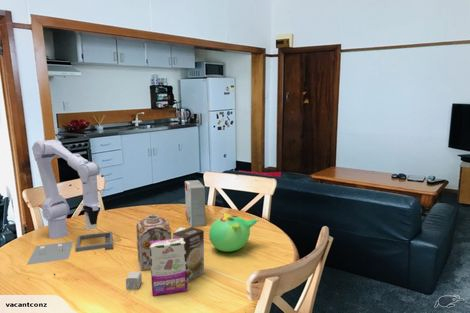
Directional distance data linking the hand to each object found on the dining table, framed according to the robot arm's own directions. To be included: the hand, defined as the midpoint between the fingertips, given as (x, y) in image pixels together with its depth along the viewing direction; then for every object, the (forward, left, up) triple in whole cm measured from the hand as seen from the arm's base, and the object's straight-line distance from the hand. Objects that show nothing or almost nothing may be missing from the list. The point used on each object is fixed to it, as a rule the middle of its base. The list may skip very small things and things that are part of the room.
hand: (92, 223), depth 146 cm
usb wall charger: (+42, +13, -10) cm, 45 cm away
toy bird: (+24, +53, -10) cm, 59 cm away
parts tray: (0, 0, -10) cm, 10 cm away
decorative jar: (+25, +22, -10) cm, 35 cm away
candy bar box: (+47, +24, -10) cm, 54 cm away
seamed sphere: (+11, +36, -10) cm, 39 cm away
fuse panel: (+4, -16, -10) cm, 19 cm away
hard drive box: (-14, +47, -10) cm, 51 cm away
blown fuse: (0, -1, -2) cm, 2 cm away
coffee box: (+40, +32, -10) cm, 52 cm away
